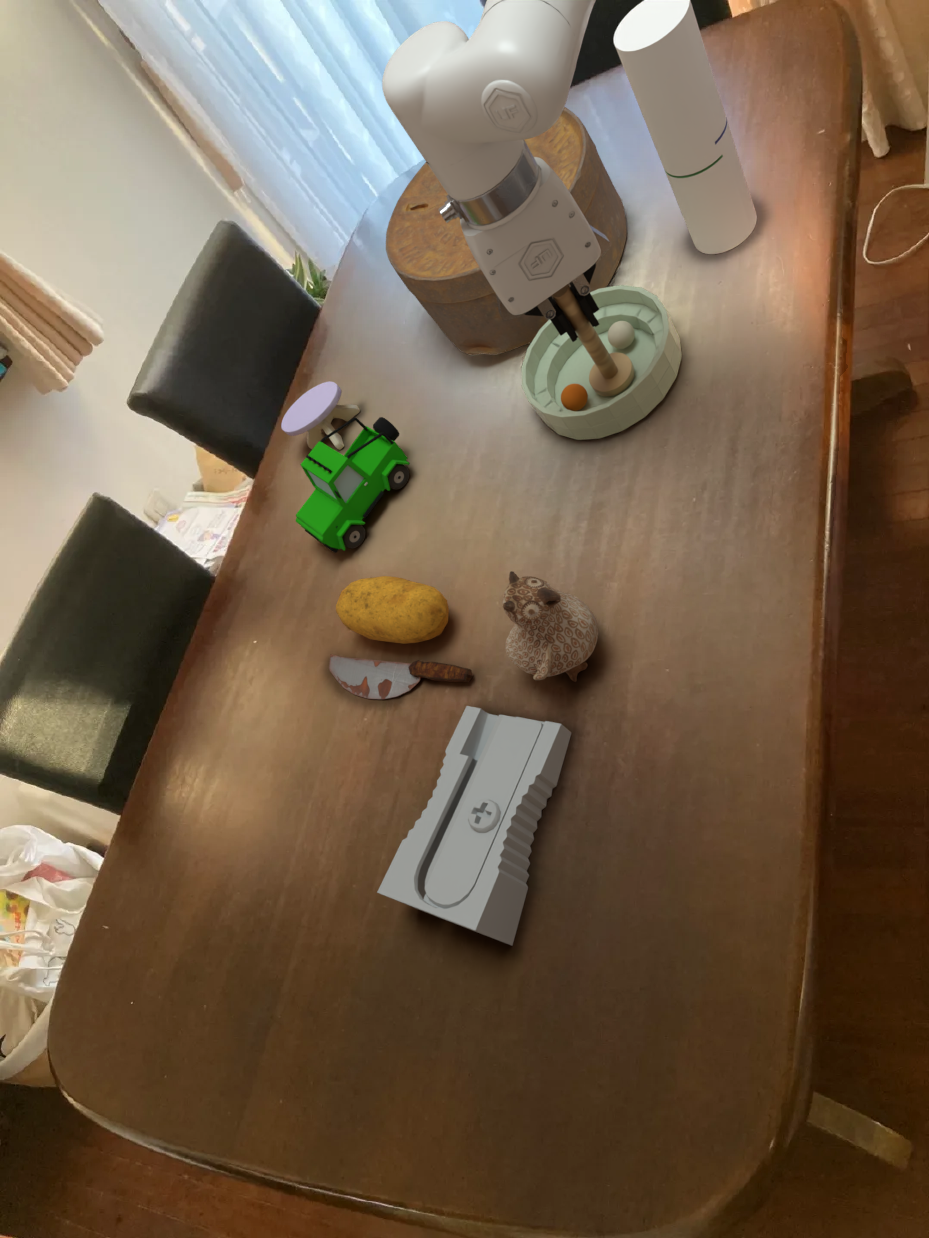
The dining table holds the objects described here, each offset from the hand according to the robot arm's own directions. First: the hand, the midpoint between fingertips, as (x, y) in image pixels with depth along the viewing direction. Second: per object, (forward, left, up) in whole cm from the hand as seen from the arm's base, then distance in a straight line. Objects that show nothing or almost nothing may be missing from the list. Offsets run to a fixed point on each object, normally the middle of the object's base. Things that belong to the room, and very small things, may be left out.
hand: (581, 324), depth 84 cm
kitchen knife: (+37, +20, -11) cm, 43 cm away
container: (+3, -26, -11) cm, 29 cm away
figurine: (+17, +28, -11) cm, 34 cm away
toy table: (+37, -23, -11) cm, 45 cm away
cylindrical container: (-18, -12, -11) cm, 25 cm away
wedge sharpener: (+30, +40, -11) cm, 51 cm away
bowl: (+1, -2, -11) cm, 11 cm away
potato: (+33, +14, -11) cm, 37 cm away
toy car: (+34, -7, -11) cm, 36 cm away
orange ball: (+5, 0, -9) cm, 10 cm away
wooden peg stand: (0, -1, -9) cm, 9 cm away
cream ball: (-3, -5, -9) cm, 10 cm away
